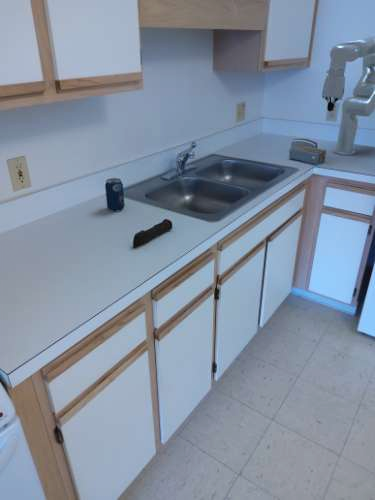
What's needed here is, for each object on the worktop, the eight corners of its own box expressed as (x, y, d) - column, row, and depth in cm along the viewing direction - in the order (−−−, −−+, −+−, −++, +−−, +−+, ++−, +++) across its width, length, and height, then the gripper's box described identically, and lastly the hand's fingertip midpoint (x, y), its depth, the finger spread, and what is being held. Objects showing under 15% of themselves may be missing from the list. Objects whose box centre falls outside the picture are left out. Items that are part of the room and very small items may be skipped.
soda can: (125, 211, 155) (123, 182, 149) (107, 212, 154) (104, 184, 148) (124, 205, 161) (122, 177, 155) (107, 206, 160) (104, 178, 154)
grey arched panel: (319, 153, 233) (319, 138, 226) (316, 157, 231) (316, 143, 224) (293, 149, 242) (293, 134, 235) (289, 153, 240) (289, 138, 233)
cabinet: (296, 155, 229) (297, 145, 226) (324, 160, 220) (326, 150, 217) (290, 158, 223) (291, 148, 220) (319, 164, 214) (321, 152, 211)
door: (289, 157, 223) (290, 148, 220) (317, 163, 213) (319, 153, 210) (287, 158, 221) (288, 149, 219) (315, 164, 211) (317, 154, 209)
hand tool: (164, 227, 143) (164, 215, 141) (173, 230, 141) (172, 218, 139) (127, 246, 130) (126, 234, 128) (136, 250, 128) (135, 237, 126)
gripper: (319, 72, 199) (313, 110, 208) (349, 74, 191) (341, 113, 200) (324, 71, 204) (318, 108, 213) (353, 73, 196) (346, 111, 205)
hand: (330, 110), depth 207 cm, fingers closed
